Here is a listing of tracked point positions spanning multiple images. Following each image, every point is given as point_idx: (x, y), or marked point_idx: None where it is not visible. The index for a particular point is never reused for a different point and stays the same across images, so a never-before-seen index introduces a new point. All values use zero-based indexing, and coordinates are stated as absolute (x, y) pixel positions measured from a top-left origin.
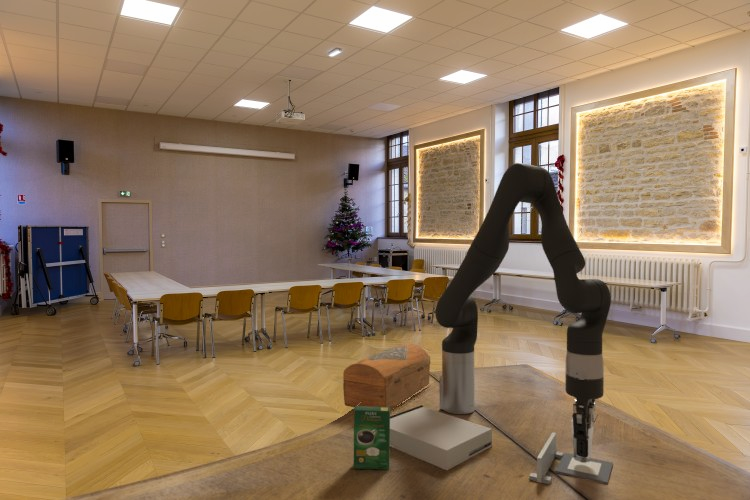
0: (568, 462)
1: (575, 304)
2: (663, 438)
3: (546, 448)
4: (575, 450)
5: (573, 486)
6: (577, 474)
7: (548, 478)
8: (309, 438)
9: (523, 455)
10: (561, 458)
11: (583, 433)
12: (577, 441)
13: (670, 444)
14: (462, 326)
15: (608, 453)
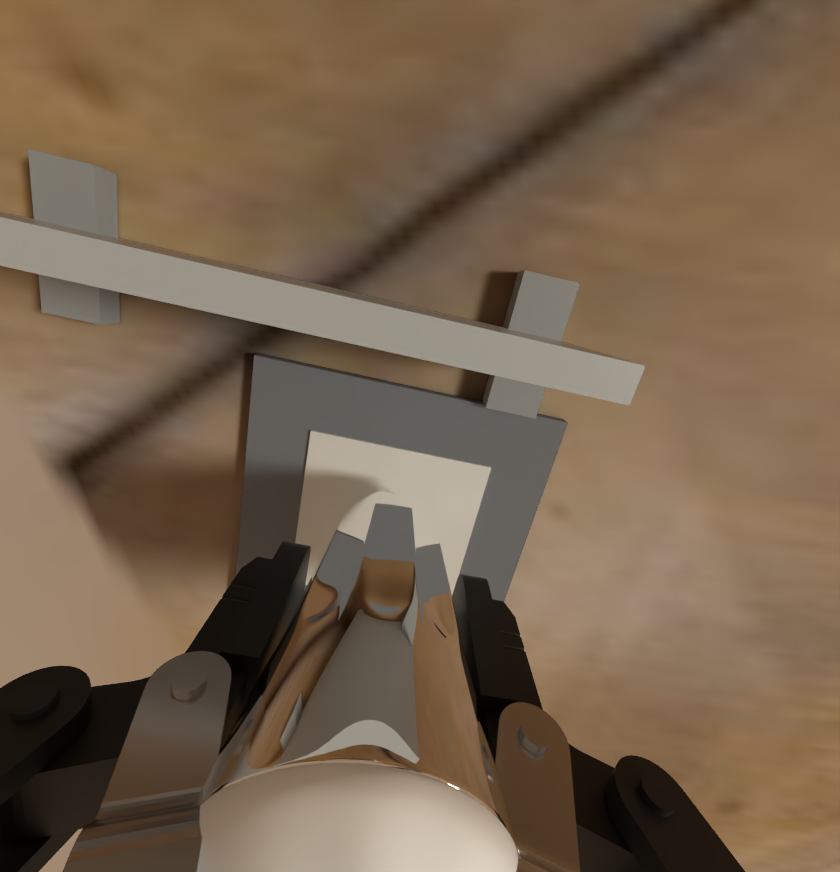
0: (412, 441)
1: None
2: (825, 845)
3: (127, 288)
4: (340, 538)
5: (124, 450)
6: (258, 483)
7: (66, 304)
8: None
9: (478, 90)
10: (483, 398)
11: (85, 815)
12: (238, 629)
13: (756, 854)
14: None
15: (621, 642)
